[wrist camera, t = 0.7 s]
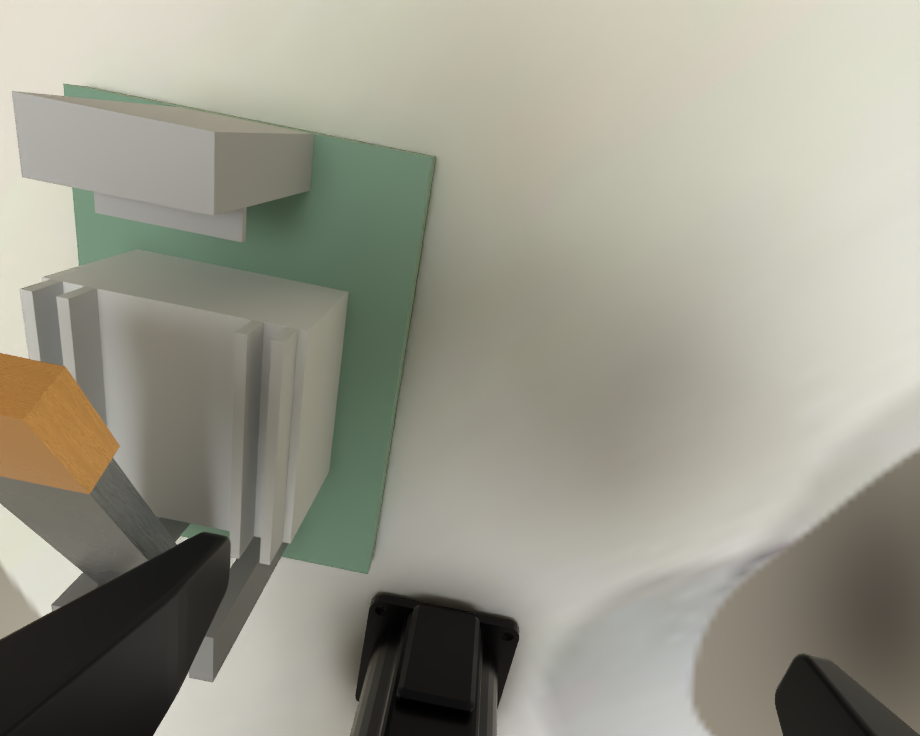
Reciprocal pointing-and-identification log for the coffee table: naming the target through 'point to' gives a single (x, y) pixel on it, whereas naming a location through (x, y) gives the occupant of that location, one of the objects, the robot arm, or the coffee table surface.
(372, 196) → the heatsink board
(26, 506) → the orange tipped gray lever
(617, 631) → the coffee table surface
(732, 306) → the coffee table surface
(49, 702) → the robot arm
